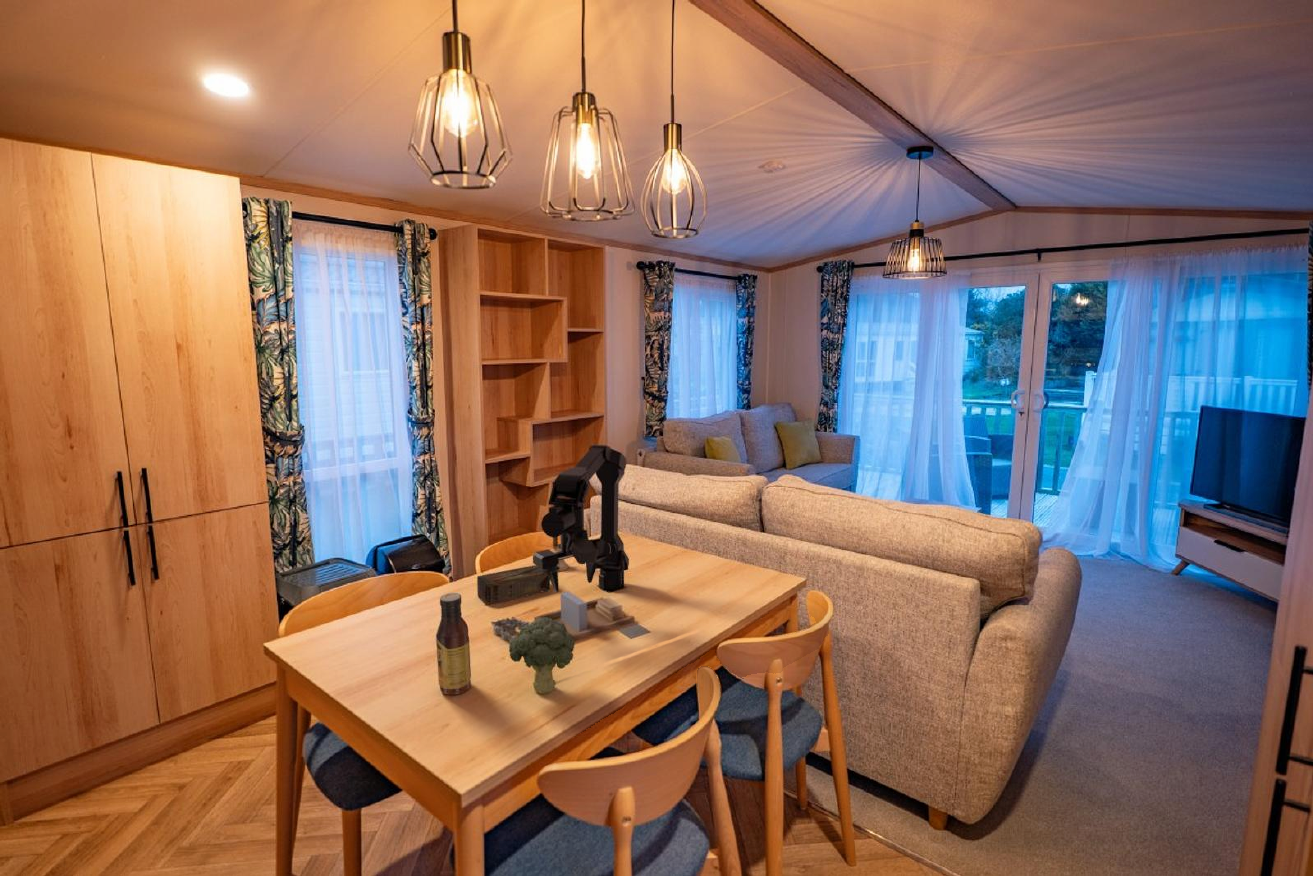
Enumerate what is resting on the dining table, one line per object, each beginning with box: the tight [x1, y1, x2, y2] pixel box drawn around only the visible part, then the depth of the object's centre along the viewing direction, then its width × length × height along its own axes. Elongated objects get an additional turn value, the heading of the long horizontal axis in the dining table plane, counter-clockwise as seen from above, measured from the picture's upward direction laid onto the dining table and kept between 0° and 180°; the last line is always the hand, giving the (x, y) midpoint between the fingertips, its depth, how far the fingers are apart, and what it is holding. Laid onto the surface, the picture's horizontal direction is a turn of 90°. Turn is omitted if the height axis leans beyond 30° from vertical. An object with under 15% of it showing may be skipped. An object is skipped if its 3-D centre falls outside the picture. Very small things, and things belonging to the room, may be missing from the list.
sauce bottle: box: [435, 592, 472, 696], centre depth 122 cm, size 6×6×20 cm
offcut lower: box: [596, 604, 625, 621], centre depth 158 cm, size 4×8×2 cm, turn 37°
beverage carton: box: [476, 564, 551, 606], centre depth 172 cm, size 8×19×7 cm, turn 125°
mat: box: [616, 622, 652, 640], centre depth 148 cm, size 6×6×1 cm
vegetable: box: [508, 617, 575, 695], centre depth 122 cm, size 12×13×15 cm
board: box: [560, 590, 587, 632], centre depth 151 cm, size 2×9×7 cm, turn 37°
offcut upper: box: [598, 597, 623, 614], centre depth 157 cm, size 4×6×2 cm, turn 37°
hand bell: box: [549, 536, 570, 573], centre depth 191 cm, size 8×8×16 cm
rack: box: [533, 597, 635, 642], centre depth 153 cm, size 20×15×2 cm
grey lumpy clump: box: [490, 616, 533, 645], centre depth 146 cm, size 11×8×4 cm
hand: (573, 586), depth 150 cm, fingers open, 9 cm apart
